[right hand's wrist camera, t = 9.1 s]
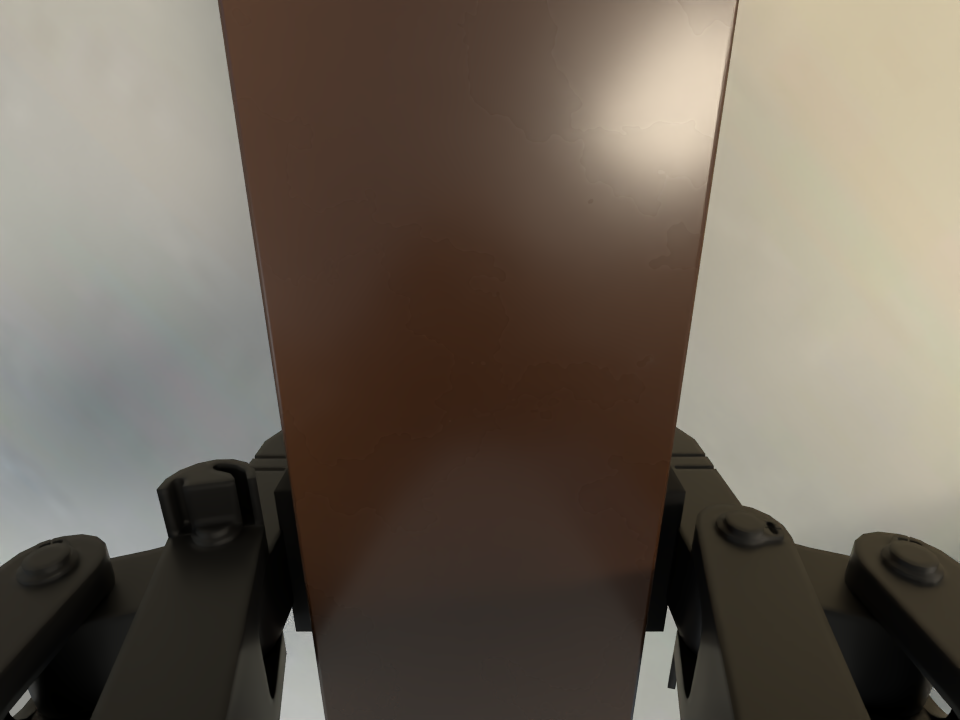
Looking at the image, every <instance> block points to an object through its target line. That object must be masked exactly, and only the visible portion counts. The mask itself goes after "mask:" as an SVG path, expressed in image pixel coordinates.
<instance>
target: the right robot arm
mask: <svg viewBox="0 0 960 720" xmlns="http://www.w3.org/2000/svg"><path fill="white" fill-rule="evenodd" d="M157 493H158V497H159V501H160V505H161V509H162V513H163V517H164V521H165V525H166V529H167V533H168V537H169V538H168V540H167V542H166V545H165V546H163V547H160V548H156V549H152V550H148V551H143V552H139V553H134V554H129V555H124V556H119V557H114V558H110V557H109V554H108V550H107V547H106V544H105V543H104V542H103V541H102V540H101V539H99V538H98V537H96V536H90V535H84V534H80V535H71V536H62V537H58V538H54V539H52V540H47V541H44V542H41V543H39V544H37V545H36V546H33V547H31V548H29V549H27V550H25V551H23V552H21V553H19V554H18V555H16V556H15V557H13V558H12V559H11V560H9V561H8V562H6V563H5V564H3V565H2V566H1V567H0V720H280V710H281V701H282V691H283V681H284V672H285V662H286V647H285V641H284V635H283V628H284V626H285V623H286V621H287V618H288V616H289V613H290V611H291V608H292V609H293V615H294V621H295V627H296V631H312V627H311V620H310V614H309V607H308V600H307V593H306V587H305V580H304V573H303V567H302V560H301V553H300V547H299V540H298V533H297V527H296V520H295V513H294V507H293V500H292V493H291V486H290V480H289V473H288V466H287V460H286V453H285V446H284V440H283V433H282V430H281V431H280V432H278V433H277V434H275V435H274V436H272V437H271V438H269V439H268V440H266V441H265V442H264V444H263V445H262V446H261V448H260V449H259V451H258V452H257V453H256V455H255V459H252V460H251V462H250V463H249V464H248V463H247V462H243V461H238V460H234V459H223V460H212V461H207V462H202V463H198V464H195V465H192V466H190V467H187V468H185V469H182V470H180V471H178V472H176V473H175V474H173V475H172V476H170V477H169V478H167V479H165V481H164V482H163V483H162V484H161V485H160V486H159V488H158V489H157ZM667 606H669V609H670V611H671V614H672V616H673V619H674V621H675V624H676V626H677V635H676V641H675V646H674V652H673V658H672V664H671V669H670V675H669V682H668V688H671V689H675V686H676V681H677V690H678V699H679V709H680V718H681V720H960V564H959V563H958V562H957V561H955V560H954V559H952V558H951V557H949V556H948V555H947V554H945V553H944V552H942V551H941V550H939V549H937V548H935V547H932V546H930V545H928V544H926V543H924V542H923V541H921V540H918V539H915V538H912V537H907V536H905V535H900V534H894V533H885V532H873V533H867V534H863V535H861V536H860V537H859V538H858V539H856V540H855V542H854V545H853V549H852V552H851V555H850V556H847V555H843V554H838V553H833V552H828V551H823V550H818V549H814V548H809V547H805V546H801V545H798V544H794V541H793V539H792V537H791V535H790V534H789V533H788V531H787V530H786V529H785V527H784V526H783V525H782V524H780V523H779V522H778V521H776V520H775V519H774V518H772V517H771V516H769V515H767V514H765V513H763V512H760V511H758V510H756V509H754V508H750V507H746V506H742V505H741V503H740V502H739V501H738V499H737V498H736V496H735V495H734V494H733V492H732V491H731V489H730V488H729V487H728V485H727V484H726V482H725V481H724V480H723V478H722V477H721V475H720V474H719V473H718V471H717V470H716V469H714V466H713V464H712V463H711V461H710V460H709V459H708V457H705V453H704V452H703V450H702V449H701V448H700V446H699V445H698V443H697V442H696V441H695V439H693V438H692V437H690V436H689V435H687V434H686V433H684V432H683V431H681V430H680V429H678V428H677V427H676V429H675V436H674V443H673V449H672V456H671V463H670V470H669V476H668V483H667V490H666V497H665V503H664V510H663V517H662V524H661V530H660V537H659V544H658V551H657V557H656V564H655V571H654V578H653V584H652V591H651V598H650V605H649V611H648V618H647V625H646V631H664V625H665V619H666V612H667ZM932 686H933V687H934V688H935V689H936V691H937V692H938V693H939V694H940V695H941V697H942V698H943V699H944V700H945V701H946V703H947V704H948V705H949V706H950V707H951V708H952V710H951V712H950V713H949V714H948V715H947V714H946V713H945V712H944V711H943V710H942V709H940V708H939V707H938V705H937V704H936V703H935V702H934V701H933V699H932V698H931V697H930V696H929V694H930V691H931V689H932ZM27 689H28V690H29V693H30V695H31V698H30V700H29V701H28V702H27V703H26V705H25V706H24V707H23V708H22V709H21V710H20V711H19V712H18V713H17V714H16V715H14V716H13V717H12V716H11V715H10V713H9V711H10V710H11V709H12V707H13V706H14V705H15V704H16V703H17V701H18V700H19V699H20V698H21V697H22V695H23V694H24V693H25V692H26V691H27Z"/></svg>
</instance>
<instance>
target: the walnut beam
mask: <svg viewBox="0 0 960 720" xmlns="http://www.w3.org/2000/svg"><path fill="white" fill-rule="evenodd" d="M738 3H739V0H218V5H219V12H220V18H221V25H222V32H223V38H224V45H225V52H226V58H227V65H228V72H229V79H230V85H231V92H232V99H233V105H234V112H235V119H236V125H237V132H238V139H239V145H240V152H241V159H242V165H243V172H244V179H245V186H246V192H247V199H248V206H249V212H250V219H251V226H252V232H253V239H254V246H255V252H256V259H257V266H258V272H259V279H260V286H261V293H262V299H263V306H264V313H265V319H266V326H267V333H268V339H269V346H270V353H271V359H272V366H273V373H274V379H275V386H276V393H277V400H278V406H279V413H280V420H281V426H282V433H283V440H284V446H285V453H286V460H287V466H288V473H289V480H290V486H291V493H292V500H293V507H294V513H295V520H296V527H297V533H298V540H299V547H300V553H301V560H302V567H303V573H304V580H305V587H306V593H307V600H308V607H309V614H310V620H311V627H312V634H313V640H314V647H315V654H316V660H317V667H318V674H319V680H320V687H321V694H322V700H323V707H324V714H325V720H632V719H633V713H634V706H635V699H636V692H637V686H638V679H639V672H640V665H641V659H642V652H643V645H644V638H645V632H646V625H647V618H648V611H649V605H650V598H651V591H652V584H653V578H654V571H655V564H656V557H657V551H658V544H659V537H660V530H661V524H662V517H663V510H664V503H665V497H666V490H667V483H668V476H669V470H670V463H671V456H672V449H673V443H674V436H675V429H676V422H677V415H678V409H679V402H680V395H681V388H682V382H683V375H684V368H685V361H686V355H687V348H688V341H689V334H690V328H691V321H692V314H693V307H694V301H695V294H696V287H697V280H698V274H699V267H700V260H701V253H702V247H703V240H704V233H705V226H706V220H707V213H708V206H709V199H710V193H711V186H712V179H713V172H714V166H715V159H716V152H717V145H718V139H719V132H720V125H721V118H722V111H723V105H724V98H725V91H726V84H727V78H728V71H729V64H730V57H731V51H732V44H733V37H734V30H735V24H736V17H737V10H738Z"/></svg>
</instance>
